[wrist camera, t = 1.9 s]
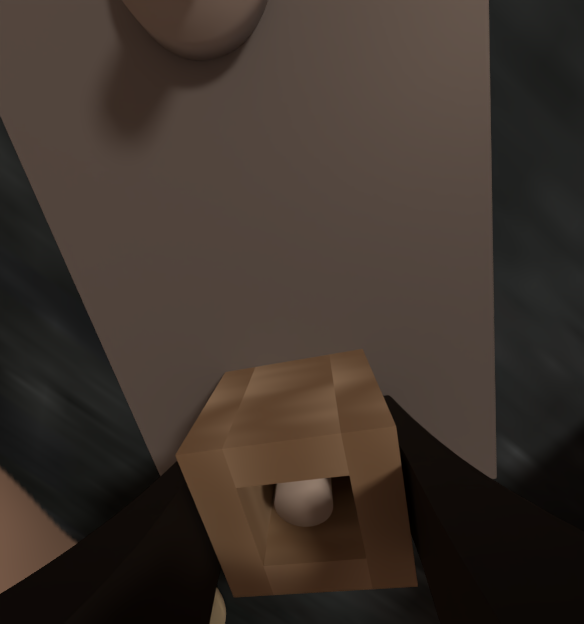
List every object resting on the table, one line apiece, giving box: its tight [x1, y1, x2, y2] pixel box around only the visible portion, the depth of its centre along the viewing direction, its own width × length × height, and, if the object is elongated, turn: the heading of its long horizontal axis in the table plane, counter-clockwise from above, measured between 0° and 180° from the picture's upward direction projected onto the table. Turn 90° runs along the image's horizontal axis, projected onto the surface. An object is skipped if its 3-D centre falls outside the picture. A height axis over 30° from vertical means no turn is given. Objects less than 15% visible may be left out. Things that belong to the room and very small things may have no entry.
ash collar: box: [175, 349, 418, 597], centre depth 9 cm, size 5×5×4 cm
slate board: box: [0, 0, 497, 527], centre depth 8 cm, size 14×22×5 cm, turn 12°
